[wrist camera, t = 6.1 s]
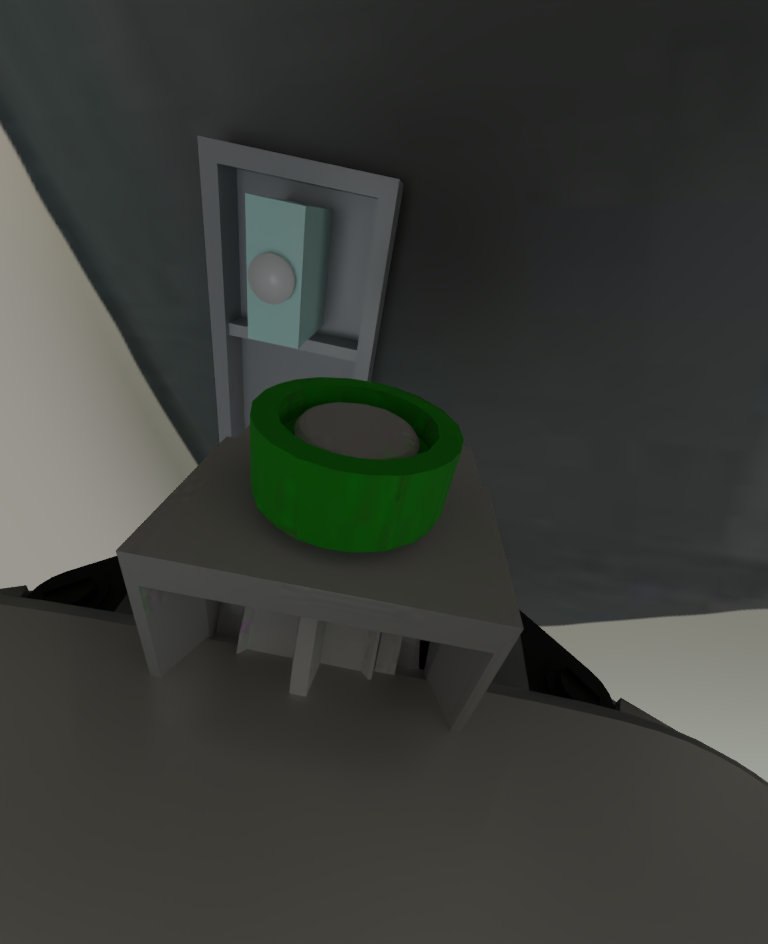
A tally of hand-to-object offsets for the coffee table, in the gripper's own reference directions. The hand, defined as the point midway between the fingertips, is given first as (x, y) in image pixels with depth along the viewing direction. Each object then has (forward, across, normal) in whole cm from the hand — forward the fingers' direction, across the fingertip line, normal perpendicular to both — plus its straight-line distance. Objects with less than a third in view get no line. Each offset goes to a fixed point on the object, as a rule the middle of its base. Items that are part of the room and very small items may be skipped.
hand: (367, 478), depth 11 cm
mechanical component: (+2, 0, 0) cm, 2 cm away
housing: (+20, +7, +4) cm, 22 cm away
